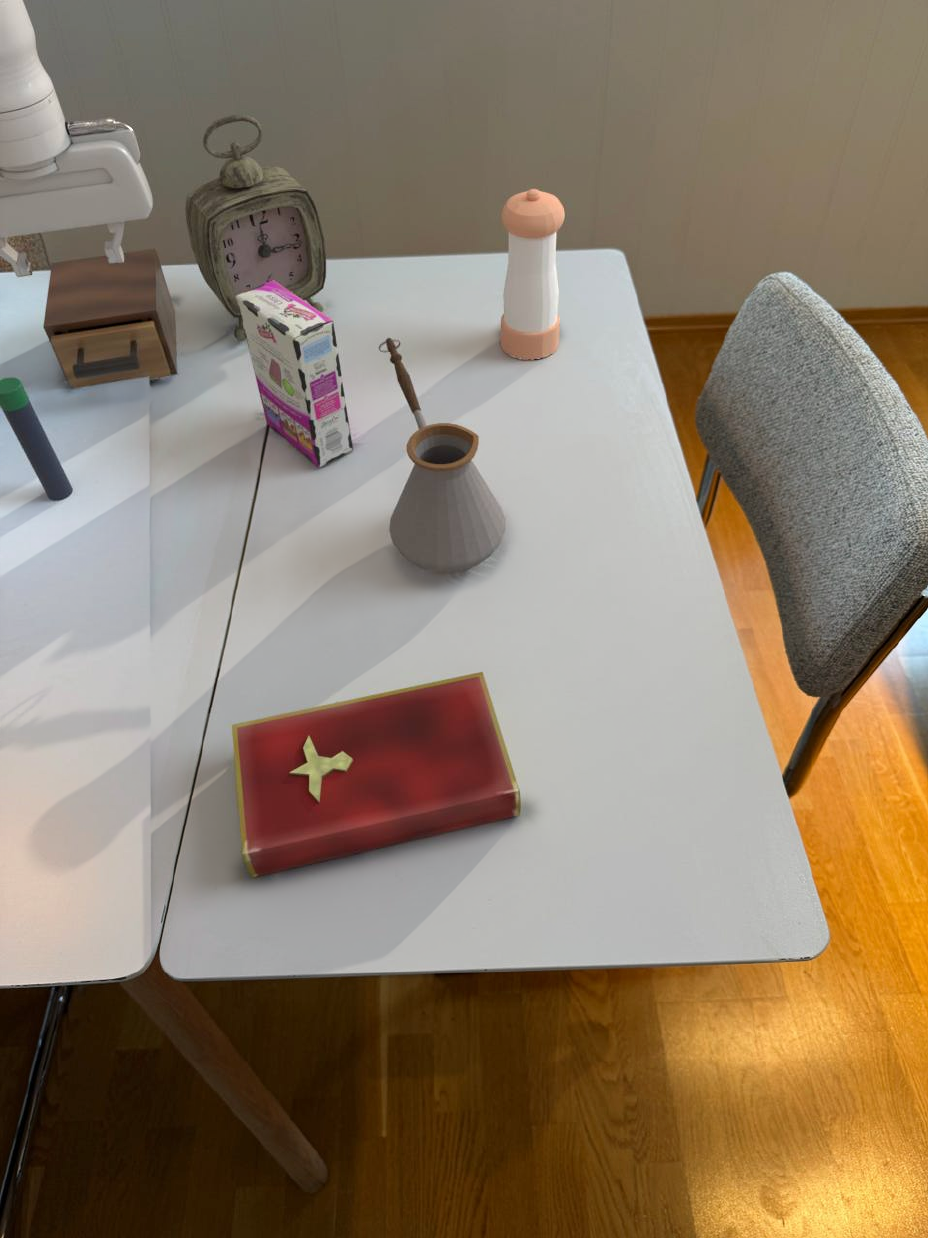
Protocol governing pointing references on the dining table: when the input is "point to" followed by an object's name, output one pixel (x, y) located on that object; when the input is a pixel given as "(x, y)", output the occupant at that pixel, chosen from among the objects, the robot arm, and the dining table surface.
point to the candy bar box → (297, 371)
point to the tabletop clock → (254, 228)
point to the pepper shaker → (531, 275)
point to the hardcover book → (370, 773)
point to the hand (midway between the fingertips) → (71, 267)
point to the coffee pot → (443, 494)
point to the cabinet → (111, 297)
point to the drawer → (111, 353)
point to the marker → (33, 439)
